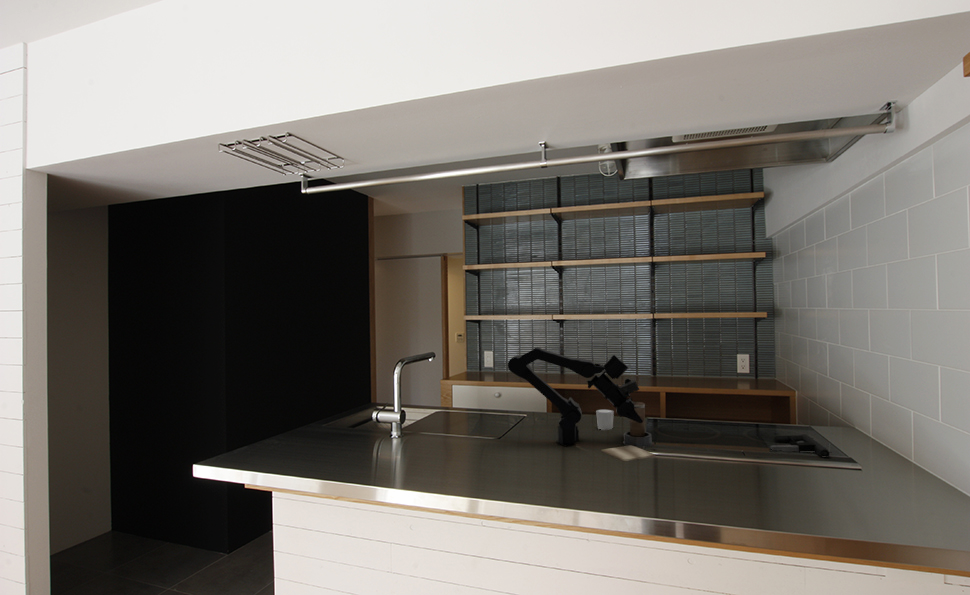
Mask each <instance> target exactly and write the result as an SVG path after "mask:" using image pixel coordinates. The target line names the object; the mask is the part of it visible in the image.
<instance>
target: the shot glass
mask: <svg viewBox="0 0 970 595" xmlns="http://www.w3.org/2000/svg"><path fill="white" fill-rule="evenodd" d="M614 412H615V411H614V410H611V409H605V408H604V409H597V410H596V411H595V414H596V421H597V424H596V425H597V429H598V430H599V429H601V430H600V431H608V430H613V429H612V428H614V417H615V416H614V415H615V413H614Z"/></svg>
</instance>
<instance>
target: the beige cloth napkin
mask: <svg viewBox="0 0 970 595" xmlns="http://www.w3.org/2000/svg"><path fill="white" fill-rule="evenodd" d="M600 451H601V453H604V454H606V455H608V456H611V457H613V458H615V459H617V460H621V461H622V462H629V461H635V460H639V459H640V460H642V459H647V458H654V457H656V454H655V453H653V452H649V451H648V450H645V449H642V448H641V447H635V446H632V445H624V446H618V447H616V446H615V447H610V448H605V449H604V448H603V449H601V450H600Z"/></svg>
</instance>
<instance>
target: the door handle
mask: <svg viewBox="0 0 970 595" xmlns="http://www.w3.org/2000/svg"><path fill="white" fill-rule="evenodd" d="M773 441H774V443H778V444H777V445H770V450H771V449H772V450H782V451H781V452H788V451H815V452H816V453H815V454H817V455H818V454H819V455H821V456H828V457H829V456H830V454H831V453H832V451H831V452H830V451H829V449H827V447H824V446H823V445H822V444H820V443H819V442H818V441H817V440H816V439H814V438H813V437H811V436H810V435H809V434H807V433H804V434H801V435H799V434H798V435H796V434H795V435H788V434H787V435H775V436H773ZM779 444H781V445H779ZM782 444H784V445H782ZM785 444H787V445H785ZM788 444H789V445H788ZM772 450H771V451H772ZM819 455H818V456H819ZM821 456H820V457H821Z"/></svg>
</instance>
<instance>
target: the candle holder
mask: <svg viewBox="0 0 970 595" xmlns="http://www.w3.org/2000/svg"><path fill="white" fill-rule="evenodd" d="M652 440H653V438H652V433H651V432H648V431H645V437H634V436H630V430H629V431H625V432H624V433H623V441H622V443H623V444H624V445H625V446H629V445H632V446H635V447H637V448H643V447H645V448H646V447H650V446H653V445H654V443H653V441H652Z"/></svg>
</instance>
